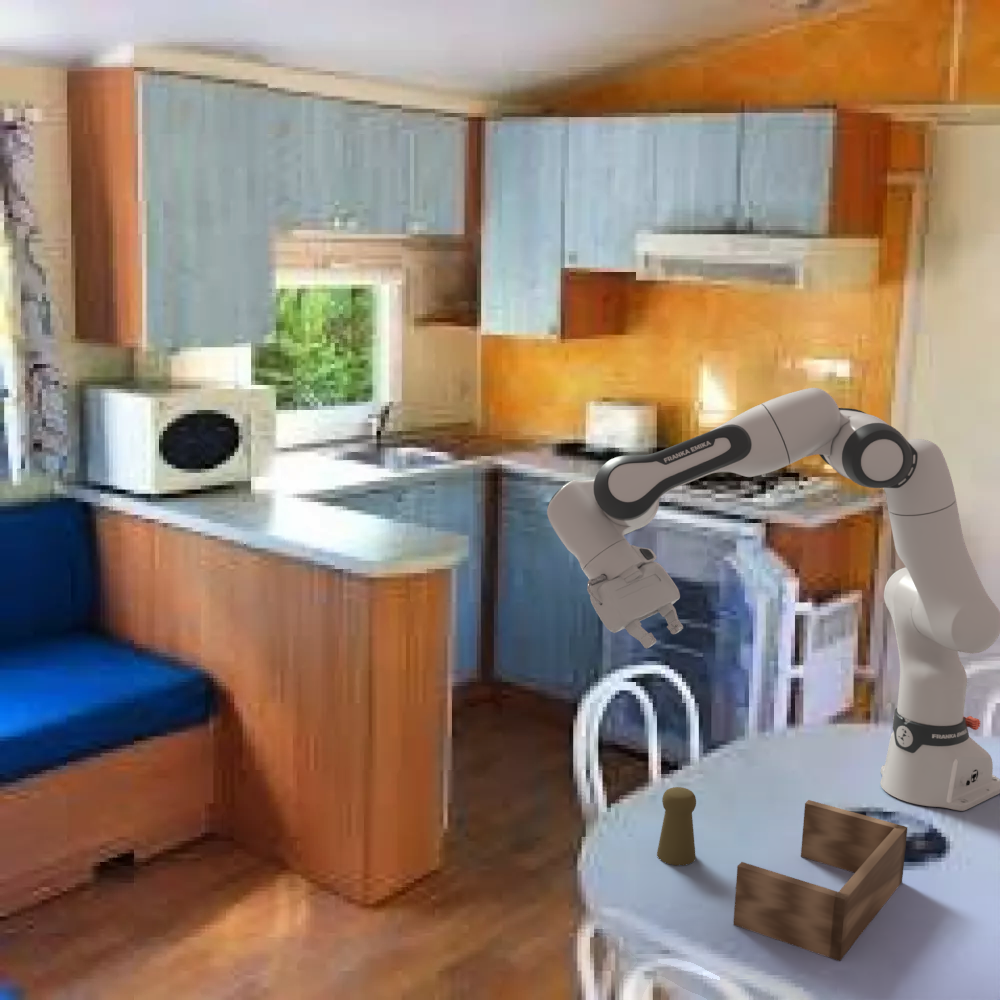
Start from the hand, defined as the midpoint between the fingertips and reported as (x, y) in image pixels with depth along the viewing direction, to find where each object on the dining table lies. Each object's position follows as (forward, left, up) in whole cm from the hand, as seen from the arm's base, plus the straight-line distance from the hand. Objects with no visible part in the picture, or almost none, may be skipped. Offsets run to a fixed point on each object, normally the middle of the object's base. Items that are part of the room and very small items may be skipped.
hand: (665, 638), depth 207 cm
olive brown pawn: (+5, +12, -32) cm, 34 cm away
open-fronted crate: (-6, +33, -31) cm, 46 cm away
